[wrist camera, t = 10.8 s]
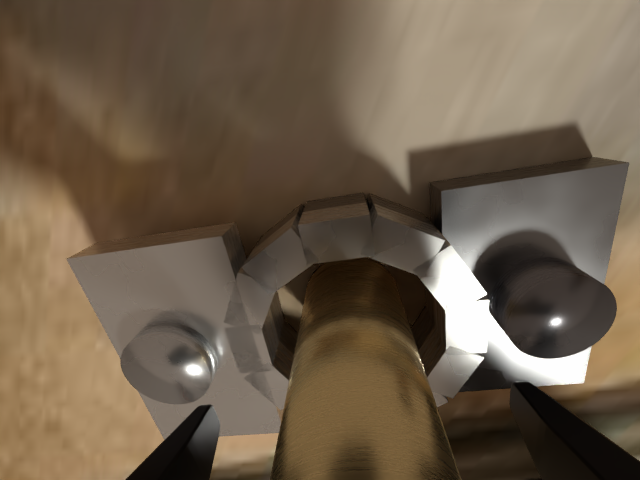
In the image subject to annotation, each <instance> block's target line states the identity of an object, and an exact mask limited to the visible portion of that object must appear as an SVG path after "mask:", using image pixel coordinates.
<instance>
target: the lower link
mask: <svg viewBox="0 0 640 480" xmlns="http://www.w3.org/2000/svg"><path fill="white" fill-rule="evenodd" d="M628 166H629V163H628V162H622V161H616V160H609V159H603V158H597V157H591V158H585V159H578V160H572V161H566V162H559V163H553V164H546V165H540V166H533V167H527V168H520V169H514V170H507V171H501V172H495V173H488V174H482V175H475V176H469V177H462V178H456V179H449V180H443V181H437V182H430V205H431V221H430V220H429V219H428V218H427V217H426V218H425V216H424V215H423V214H422V213H420V212H417V211H414V210H412V209H409V208H406V207H404V206H401V205H398V204H396V203H393V202H391V201H388V200H385V199H383V198H380V197H377V196H375V195H372V194H369V196H368V198H367V201H366V200H365V197H364V194H363V193H359V194H353V195H346V196H340V197H333V198H327V199H321V200H314V201H308V202H307V203H306V205H305V208H304V207H303V205H302V204H301V205H300V206H298V207H297V208H296V209H295V210H293V211H292V212H291V213H290V214H289V215H287V216H286V217H285V218H284V219H282V220H281V221H280V222H279V223H278V224H276V225H275V226H274V227H273V228H271V229H270V230H269V231H268V232H267V233H265V234H264V235H263V236H262V237H261V238H260V240H259V241H258V243H257V244H256V246H255V247H254V249H255V248H256V247H257V246H258V245H260V244H261V243H262V242H263V241H265V240H266V239H267V238H268V237H270V236H271V235H272V234H273V233H275V232H276V231H277V230H278V229H279V228H281V227H282V226H283V225H284V224H286V223H287V222H288V221H289V220H291V219H292V218H293V217H294V216H296V215H297V216H298V217H299V218H301V216H302V213H303V212H306V211H312V210H319V209H326V208H332V207H339V206H345V205H352V204H359V203H365V202H366V204H367V207H368V210H369V212H370V210H371V207H372V205H373V203H374V204H377V205H380V206H382V207H385V208H388V209H390V210H393V211H396V212H398V213H401V214H404V215H406V216H409V217H411V218H414V219H417V220H419V221H422V222H425V223H427V224H430V225H432V226H433V227H434V228H435V229H436V230H437V229H438V230H439V232H440V233H441V234H442V235H443V236H444V237H445V238H446V240H447V241H448V242H449V243H450V244H451V245H452V247H453V248H454V249H455V251H456V252H457V254H458V255H459V256H460V258H461V259H462V260H463V262H464V263H465V264H466V266H467V267H468V269H469V270H470V271H471V273H472V274H473V275H474V277H475V278H476V280H477V281H478V282H479V284H480V285H481V286H482V288H483V289H484V290H485V292H486V293H487V294H486V295H485V296H486V297H487V298H488V299H489V309H488V333H487V352H485V353H482V354H483V356H484V359H483V360H482V362H481V363H480V364H479V366H478V367H477V368H476V369H475V371H474V372H473V373H472V375H471V376H470V377H469V378H468V380H467V381H466V382H465V384H464V385H463V386H462V387H461V389H460V390H459V391H458V392H465V391H479V390H493V389H507V388H511V384H512V383H513V382H520V381H527V382H530V383H531V384H533V385H534V386H549V385H563V384H577V383H584V379H585V374H586V370H587V365H588V360H589V355H590V350H591V346H592V345H594V344H595V343H596V342H598V341H599V340H600V339H601V338H602V337H603V336H604V335H605V334H606V333H607V332H608V330H609V329H610V327H611V326H612V324H613V322H614V319H615V316H616V310H617V305H616V300H615V297H614V295H613V293H612V292H611V290H610V289H609V288H608V287H607V286H606V285H604V282H605V278H606V273H607V268H608V263H609V258H610V253H611V248H612V244H613V239H614V234H615V229H616V224H617V219H618V215H619V210H620V205H621V200H622V195H623V190H624V186H625V181H626V176H627V171H628ZM250 254H251V253H250ZM425 302H426V306H425V307H424V309H423V311H422V312H421V314H420V316H419V317H418V319H417V320H416V322H415V324H414V325H413V327H412V329H411V331H412V334H413V337H414V340H415V343H416V346H417V349H418V351H419V349H420V348H421V346H422V345H423V343H424V342H425V340H426V339H427V337H428V335H429V334H430V332H431V331H432V329H433V328H434V326H435V316H434V296H433V294H432V293H431V292H430V291H429V289H428V288H427V287H426V286H425ZM270 310H271V313H272V317H273V321H274V324H275V328H276V331H277V335H278V338H279V341H280V342H281V343H282V344H283V345H284V346H285V347H286V348H287V349H288V350H289V351H290V352H291V353H293V354H294V352H295V347H296V342H297V336H298V333H297V332H296V331H295V330H294V329H293V328H292V327H291V326H290V325H289V324H288V323H287V322H286V321H285V320H284V316H283V312H282V308H281V304H280V301H279V297H278V293H277V291H276V292H275V294H274V297H273V300H272V302H271V305H270Z"/></svg>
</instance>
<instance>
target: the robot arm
mask: <svg viewBox="0 0 640 480" xmlns="http://www.w3.org/2000/svg"><path fill="white" fill-rule="evenodd" d="M510 408H511V411H512V413H513V416H514V418H515V420H516V423H517V425H518V427H519V429H520V432H521V434H522V436H523V439H524V441H525V443H526V445H527V448H528V450H529V452H530V455H531V457H532V459H533V461H534V464H535V466H536V468H537V470H538V472H539V474H540V476H541V478H542V480H640V461H639V460H637V459H636V458H635V457H633V456H632V455H630V454H629V453H628V452H626V451H625V450H623V449H622V448H621V447H619V446H618V445H616V444H615V443H614V442H612V441H611V440H610V439H608V438H607V437H605V436H604V435H603V434H601V433H600V432H598V431H597V430H596V429H594V428H593V427H591V426H590V425H589V424H587V423H586V422H584V421H583V420H582V419H580V418H579V417H577V416H576V415H575V414H573V413H572V412H571V411H569V410H568V409H566V408H565V407H564V406H562V405H561V404H559V403H558V402H557V401H555V400H554V399H552V398H551V397H550V396H548V395H547V394H545V393H544V392H543V391H541V390H540V389H538V388H537V387H536V386H534V385H533V384H531V383H530V382H527V381H520V382H513V383H512V384H511V391H510ZM219 432H220V421H219V418H218V416H217V414H216V411H215V409H214V407H213V405H211V404H207V405H200V406H198V407H197V408H196V409H195V410H194V411H193V412H192V413H191V414H190V415H189V416H188V417H187V418H186V419H185V420H184V421H183V422H182V423H181V424H180V425H179V426H178V427H177V428H176V429H175V430H174V431H173V432H172V433H171V434H170V435H169V436H168V437H167V438H166V439H165V440H164V441H163V442H162V443H161V444H160V445H159V446H158V447H157V448H156V449H155V450H154V451H153V452H152V453H151V454H150V455H149V456H148V457H147V458H146V459H145V460H144V461H143V462H142V463H141V464H140V465H139V466H138V467H137V468H136V470H135V471H134V472H133V473H132V474H131V475H130V476H129V477H128V478H127V479H126V480H209V478H210V474H211V469H212V464H213V460H214V455H215V451H216V446H217V441H218V437H219Z"/></svg>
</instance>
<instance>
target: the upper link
mask: <svg viewBox="0 0 640 480" xmlns="http://www.w3.org/2000/svg"><path fill="white" fill-rule="evenodd" d="M363 257H369V258H371V259H374V260H377V261H380V262H383V263H385V264H388V265H391V266H394V267H396V268H399V269H402V270H405V271H407V272H410V273H413V274H416V275H417V276H418V277H419V278H420V280H421V281H422V282H423V283H424V285H425V286H426V287H427V288H428V289H429V291H430V292H431V293H432V294H433V296H434V316H435V326H434V328H433V329H432V331H431V332H430V334H429V335H428V337H427V339H426V340H425V342H424V343H423V345H422V346H421V348H420V349H419V351H418V352H419V355H420V358H421V361H422V364H423V367H424V370H425V373H426V376H427V379H428V382H429V385H430V387H431V390H432V393H433V396H434V399H435V402H436V405H437V407H439V406H441V405H443V404H445V403H447V402H448V400H447V397H450V398H454V396H455V395H456V394H457V393H458V391H459V390H460V389H461V387H462V386H463V385H464V384H465V382H466V381H467V380H468V378H469V377H470V376H471V375H472V373H473V372H474V371H475V369H476V368H477V367H478V366H479V364H480V363H481V362H482V360H483V359H484V356H483V354H482V353H485V352H487V333H488V309H489V299H488V298H487V297H486V296H485V295H486V294H487V293H486V292H485V290H484V289H483V288H482V286H481V285H480V284H479V282H478V281H477V280H476V278H475V277H474V275H473V274H472V273H471V271H470V270H469V269H468V267H467V266H466V264H465V263H464V262H463V260H462V259H461V258H460V256H459V255H458V254H457V252H456V251H455V249H454V248H453V247H452V245H451V244H450V243H449V242H448V241H447V240H446V238H445V237H444V236H443V235H442V234H441V233H440V232H439V230H438V229H437V230H436V229H435V228H434V227H433V226H432V225H430V224H427V223H425V222H422V221H419V220H417V219H414V218H411V217H409V216H406V215H404V214H401V213H398V212H396V211H393V210H390V209H388V208H385V207H382V206H380V205H377V204H374V203H373V205H372V207H371V210H370V212H369V210H368V207H367V204H366V202H365V203H359V204H352V205H345V206H339V207H332V208H326V209H319V210H312V211H306V212H303V213H302V216H301V218H299V217H298V216H297V215H296V216H294V217H293V218H292V219H291V220H289V221H288V222H287V223H286V224H284V225H283V226H282V227H281V228H279V229H278V230H277V231H276V232H275V233H273V234H272V235H271V236H270V237H268V238H267V239H266V240H265V241H263V242H262V243H261V244H260V245H258V246H257V247H256V248H255V249H253V250H252V252H251V254H250V255H249V256H248V258H247V259H246V255H245V252H244V249H243V245H242V242H241V238H240V235H239V232H238V228H237V225H236V222H233V223H226V224H220V225H213V226H206V227H200V228H193V229H186V230H180V231H173V232H167V233H160V234H153V235H147V236H140V237H134V238H127V239H120V240H114V241H107V242H100V243H96V244H94V245H92V246H90V247H88V248H86V249H84V250H82V251H80V252H79V253H77V254H75V255H73V256H71V257H69V258H67V261H68V263H69V265H70V267H71V268H72V270H73V272H74V274H75V276H76V278H77V280H78V281H79V283H80V285H81V287H82V289H83V291H84V292H85V294H86V296H87V298H88V300H89V302H90V304H91V305H92V307H93V309H94V311H95V313H96V315H97V316H98V318H99V320H100V322H101V324H102V326H103V327H104V329H105V331H106V333H107V335H108V337H109V339H110V340H111V342H112V344H113V346H114V348H115V350H116V351H117V353H118V355H119V357H120V359H121V368H122V371H123V373H124V375H125V377H126V379H127V380H128V381H129V383H130V384H131V385H132V386H133V387H134V388H135V389H136V390H138V392H139V394H140V396H141V398H142V399H143V401H144V403H145V405H146V407H147V409H148V410H149V412H150V414H151V416H152V418H153V420H154V421H155V423H156V425H157V427H158V429H159V431H160V433H161V434H162V436H163V438H164V440H165V439H166V438H167V437H168V436H169V435H170V434H171V433H172V432H173V431H174V430H175V429H176V428H177V427H178V426H179V425H180V424H181V423H182V422H183V421H184V420H185V419H186V418H187V417H188V416H189V415H190V414H191V413H192V412H193V411H194V410H195V409H196V408H197V407H198V406H200V405H207V404H211V405H213V407H214V409H215V411H216V414H217V416H218V418H219V421H220V432H219V436H234V435H251V434H268V433H279V430H280V425H281V420H282V414H283V409H284V404H285V399H286V394H287V388H288V383H289V378H290V373H291V368H292V362H293V357H294V354H293V353H291V352H290V351H289V350H288V349H287V348H286V347H285V346H284V345H283V344H282V343H281V342H280V341H279V338H278V335H277V331H276V328H275V324H274V321H273V317H272V313H271V310H270V305H271V302H272V300H273V297H274V294H275V292H276V291H277V290H278V289H280V288H281V287H282V286H284V285H285V284H287V283H288V282H289V281H291V280H292V279H293V278H295V277H296V276H298V275H299V274H300V273H302V272H303V271H304V270H306V269H307V268H309V267H310V266H311V265H313V264H316V263H324V262H332V261H339V260H347V259H355V258H363ZM446 396H447V397H446Z"/></svg>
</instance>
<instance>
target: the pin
mask: <svg viewBox="0 0 640 480" xmlns="http://www.w3.org/2000/svg"><path fill="white" fill-rule="evenodd" d="M270 480H461V477H460V474H459V471H458V468H457V465H456V462H455V459H454V456H453V453H452V450H451V447H450V444H449V441H448V438H447V435H446V432H445V429H444V426H443V423H442V420H441V417H440V414H439V411H438V408H437V405H436V402H435V399H434V396H433V393H432V390H431V387H430V385H429V382H428V379H427V376H426V373H425V370H424V367H423V364H422V361H421V358H420V355H419V352H418V349H417V346H416V343H415V340H414V337H413V334H412V331H411V328H410V325H409V322H408V319H407V316H406V313H405V310H404V307H403V304H402V301H401V298H400V295H399V292H398V289H397V286H396V283H395V281H394V279H393V277H392V275H391V274H390V273H389V271H388V270H387V269H386V268H385V267H383V266H382V265H381V264H379V263H378V262H376V261H374V260H371V259H369V258H365V257H363V258H355V259H347V260H339V261H332V262H326V263H325V264H323V265H322V266H320V267H319V268H318V269H317V270H316V271H315V272H314V273H313V275H312V276H311V278H310V280H309V282H308V285H307V290H306V295H305V300H304V305H303V310H302V316H301V321H300V326H299V331H298V336H297V342H296V347H295V352H294V357H293V362H292V368H291V373H290V378H289V383H288V388H287V394H286V399H285V404H284V409H283V414H282V420H281V425H280V430H279V435H278V441H277V446H276V451H275V456H274V461H273V467H272V472H271V477H270Z"/></svg>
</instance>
